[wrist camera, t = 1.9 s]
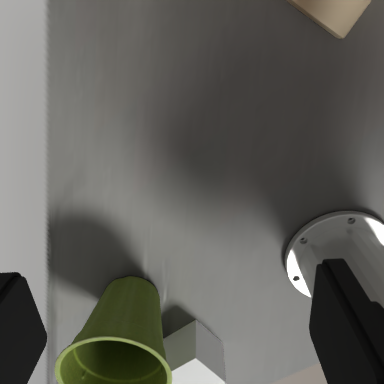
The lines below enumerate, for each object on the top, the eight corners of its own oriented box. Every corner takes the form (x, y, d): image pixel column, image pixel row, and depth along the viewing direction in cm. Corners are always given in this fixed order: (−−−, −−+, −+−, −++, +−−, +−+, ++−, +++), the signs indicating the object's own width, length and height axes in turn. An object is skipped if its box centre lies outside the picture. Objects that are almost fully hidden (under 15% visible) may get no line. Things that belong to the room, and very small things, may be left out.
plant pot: (90, 325, 46) (60, 409, 36) (85, 256, 40) (48, 332, 30) (175, 331, 46) (168, 416, 36) (181, 264, 41) (175, 342, 31)
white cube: (223, 342, 47) (226, 383, 42) (191, 359, 49) (190, 401, 43) (196, 318, 45) (195, 358, 40) (163, 337, 47) (159, 378, 41)
